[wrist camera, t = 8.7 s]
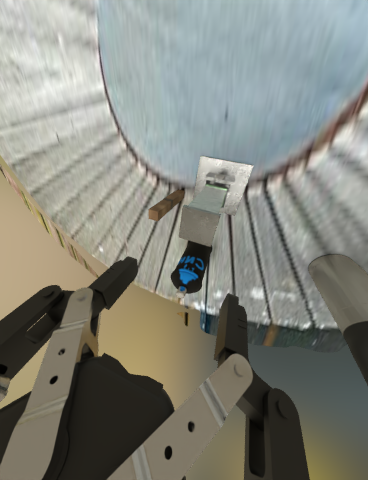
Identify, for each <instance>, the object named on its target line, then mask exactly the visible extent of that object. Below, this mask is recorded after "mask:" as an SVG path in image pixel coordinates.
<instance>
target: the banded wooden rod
mask: <svg viewBox="0 0 368 480" xmlns="http://www.w3.org/2000/svg"><path fill="white" fill-rule="evenodd" d="M183 198H184V191H183V190H176V191H175V192H173V193H172V194H170V195H169V196H167V197H166V198H164V199H163V200H162V201H160V202H159V203H157V204H156V205H154V206H153V207H151V208H150V209H149V219H152V220H155V221H159V220H160V219H161V218H162V217H163V216H164V215H165V214H166V213H167V212H169V211H170V210H171V209H172V208H173V207H174V206H175V205H176V204H177V203H179V202H180V201H181V200H182V199H183Z"/></svg>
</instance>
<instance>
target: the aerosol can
mask: <svg viewBox="0 0 368 480" xmlns="http://www.w3.org/2000/svg"><path fill="white" fill-rule="evenodd" d="M211 252H212V245H211V247H209V246H206V245H202V244H199V243H196V242H193V241H189V243H188V246H187V248H186V250H185V252H184V254H183V255H182V257H181V259H180V261H179V263H178V265H177V267H176V269H175V270H174V271H173V272H172V274H171V280H172V282H173V284H174V286H175V287H176V288H177V289H178V291H177V293H176V295H177V296H178V297H179V298H184V296H185V294H186V293H188V294H190V293H194V292H198V291H199V290H200V289H201V287H202V280H203V277H204V273H205V270H206V266H207V263H208V259H209V256H210V253H211Z"/></svg>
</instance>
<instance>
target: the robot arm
mask: <svg viewBox="0 0 368 480" xmlns="http://www.w3.org/2000/svg"><path fill="white" fill-rule="evenodd" d="M308 271H309V273H310V275H311V277H312V279H313V281H314V283H315V285H316V287H317V288H318V290H319V292H320V294H321V296H322V298H323V299H324V301H325V303H326V305H327V307H328V309H329V311H330V312H331V314H332V316H333V318H334V320H335V322H336V323H337V325H338V327H339V329H340V331H341V333H342V334H343V336H344V338H345V340H346V342H347V344H348V346H349V348H350V351H351V353H352V355H353V357H354V359H355V361H356V363H357V365H358V367H359V368H360V371H361V373H362V375H363V377H364V379H365V381H366V383H367V385H368V274H367V273H366V272H365V271H364V270H363V269H362V268H361V267H360V266H359V265H357V264H356V263H355V262H354V261H353V260H352V259H350V258H349V257H347V256H343V255H326V256H322V257H320V258H317V259H316V260H314V261H313V262H312V263H311V264H310V265H309V268H308ZM137 273H138V266H137V259H134V258H132V257H129V256H128V257H126V258H125V259H124V260H123V261H122V260H120V261H118V262H116V263H114V264H113V265H112V266H111V267H110V268H109V269H108V270H107V271H106V272H104V273H103V274H102V275H101V276H100V277H99V278H98V279H97V280H95V281H94V282H93V283H92V284H91V285H90V286H89V287H87V288H81V289H78V290H77V291H65V290H62V289H61V288H60V286H57V285H51V286H48V287H45V288H43V289H42V290H40V291H39V292H37V293H36V294H35V295H33V296H32V297H31V298H30V299H28V300H27V301H25V302H24V303H23V304H22V305H20V306H19V307H18V308H16V309H15V310H14V311H13V312H11V313H10V314H8V315H7V316H6V317H5V318H3V319H2V320H1V321H0V401H2V400H3V399H4V398H5V396H6V395H7V392H8V390H7V389H8V387H9V384H10V380H11V379H12V378H13V377H14V376H15V375H16V374H17V373H18V372H19V371H20V370H21V369H22V367H23V366H24V365H25V364H26V363H27V362H28V361H29V360H30V359H31V358H32V357H33V356H34V355H35V354H36V353H37V352H38V350H39V349H40V348H41V347H42V346H43V345H44V344H45V343H46V342H47V341H48V340H49V339H50V338H51V339H50V341H49V344H48V347H47V350H46V353H45V356H44V358H43V361H42V364H41V367H40V370H39V372H38V375H37V378H36V381H35V384H34V387H33V389H32V391H30V392H29V393H27V394H25V395H24V396H22V397H21V398H19V399H17V400H15V401H13V402H12V403H10V404H8V405H7V406H5V407H3V408H2V409H0V480H186V477H185V474H186V473H187V472H188V470H189V469H190V468H191V466H192V464H194V462H195V461H196V459H197V458H198V457H199V456H200V454H201V453H202V452H203V450H204V449H205V448H206V446H207V445H208V444H209V442H210V441H211V440H212V439H213V437H214V436H215V435H216V433H217V432H218V431H219V429H220V428H221V426H222V425H223V423H224V421H225V418H226V416H227V414H228V413H229V411H230V410H231V409H232V408H233V406H234V405H235V404H236V405H237V406H238V407H239V408H240V409H241V410H242V411H243V412H244V413H245V414H246V429H245V464H244V480H310V479H309V473H308V468H307V461H306V455H305V449H304V443H303V437H302V432H301V426H300V420H299V415H298V412H297V409H296V407H295V405H294V403H293V402H292V400H291V399H290V397H289V396H288V395H287V394H286V393H285V392H284V391H282V390H280V389H277V388H274V389H272V388H271V387H270V386H269V385H268V384H267V383H265V382H264V381H263V380H262V379H261V378H260V377H259V376H258V375H257V374H256V373H255V372H254V370H253V369H252V367H251V365H250V363H249V359H248V341H247V314H246V312H245V309H244V307H243V306H240V305H238V301H239V299H238V297H237V296H234V295H232V294H229V293H228V294H227V296H226V298H225V300H224V302H223V303H222V306H221V310H220V317H219V324H218V332H217V339H216V347H215V354H214V360H216V361H218V367H217V370H216V371H215V372H214V373H213V374H212V375H211V376H210V377H209V378H208V379H207V380H206V381H205V382H204V383H203V384H202V385H201V386H200V387H199V388H198V389H197V390H196V391H195V392H194V393H193V394H192V395H191V396H190V397H189V398H188V399H187V400H186V401H185V402H184V403H183V404H182V405H181V406H180V407H179V408H178V409H177V410H176V411H174V407H173V404H172V402H171V400H170V398H169V396H168V394H167V393H166V391H165V390H164V389H163V384H161V383H159V382H157V381H156V380H154V379H152V378H150V377H148V376H141V375H133V374H129V373H128V372H127V370H126V369H125V368H124V367H123V366H122V365H121V363H120V362H119V361H118V360H116V359H115V358H113V357H111V356H109V355H107V354H105V353H104V354H103V355H102V356H98V333H99V325H100V317H101V311H102V310H103V309H104V308H106V309H108V310H109V309H110V308H111V306H112V305H113V304H114V303H115V302H116V300H117V299H118V298H119V297H120V296H121V294H122V293H123V292H124V291H125V289H126V288H127V287H128V286H129V284H130V283H131V282H132V281H133V280H134V278H135V277H136V276H137ZM45 313H46V315H45ZM43 315H44V316H43ZM42 316H43V317H42ZM41 317H42V318H41ZM40 318H41V319H40ZM39 319H40V320H39ZM38 320H39V321H38ZM37 321H38V322H37ZM36 322H37V323H36ZM35 323H36V324H35ZM34 324H35V325H34ZM32 325H33V326H32ZM31 326H32V327H31ZM30 327H31V328H30ZM29 328H30V329H29ZM28 329H29V330H28ZM27 330H28V331H27Z"/></svg>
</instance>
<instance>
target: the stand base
mask: <svg viewBox="0 0 368 480" xmlns="http://www.w3.org/2000/svg"><path fill="white" fill-rule="evenodd" d="M252 168H253V165H248V164H243V163H237V162H232V161H227V160H221V159H216V158H210V157H205V156H200V161H199V167H198V173H197V179H196V184H195V190H194V196H193V200H194V198H195V197H196V196H197V195H198V194H199V193H200V192H201V191H202V189H203V188H204V187H205V186H206V184H208V183H210V184H215V185H219V186H224V187H227V190H226V194H225V197H224V200H223V204H222V207H221V209H220V212H222V213H226V214H230V215H234V216H235V214H236V211H237V208H238V206H239V203H240V200H241V198H242V195H243V192H244V190H245V187H246V184H247V182H248V179H249V176H250V174H251V171H252Z"/></svg>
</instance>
